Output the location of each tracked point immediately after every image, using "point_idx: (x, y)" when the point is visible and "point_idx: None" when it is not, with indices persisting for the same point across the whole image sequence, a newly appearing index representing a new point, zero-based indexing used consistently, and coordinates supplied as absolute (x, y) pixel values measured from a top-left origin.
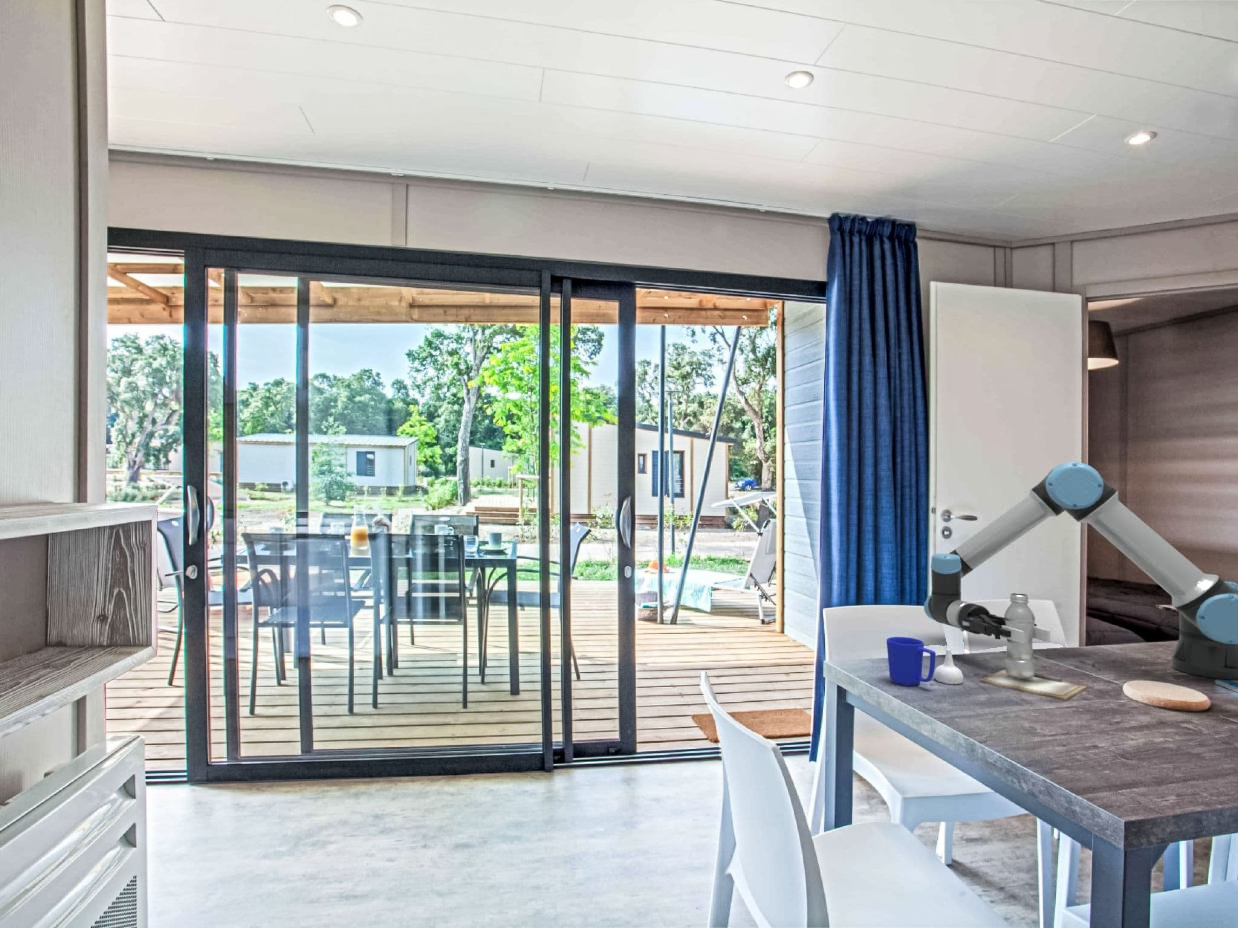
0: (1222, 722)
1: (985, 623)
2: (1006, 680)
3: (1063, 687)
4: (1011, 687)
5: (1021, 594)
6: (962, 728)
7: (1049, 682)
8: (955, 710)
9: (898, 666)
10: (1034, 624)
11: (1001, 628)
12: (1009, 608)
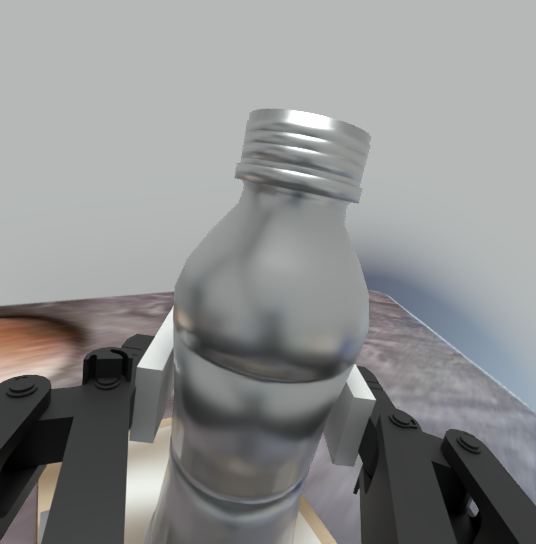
0: (88, 301)
1: (500, 515)
2: None
3: (150, 453)
4: (315, 518)
5: (261, 119)
6: (483, 379)
7: (130, 513)
8: (501, 428)
9: None
10: (44, 378)
11: (373, 412)
12: (357, 260)
